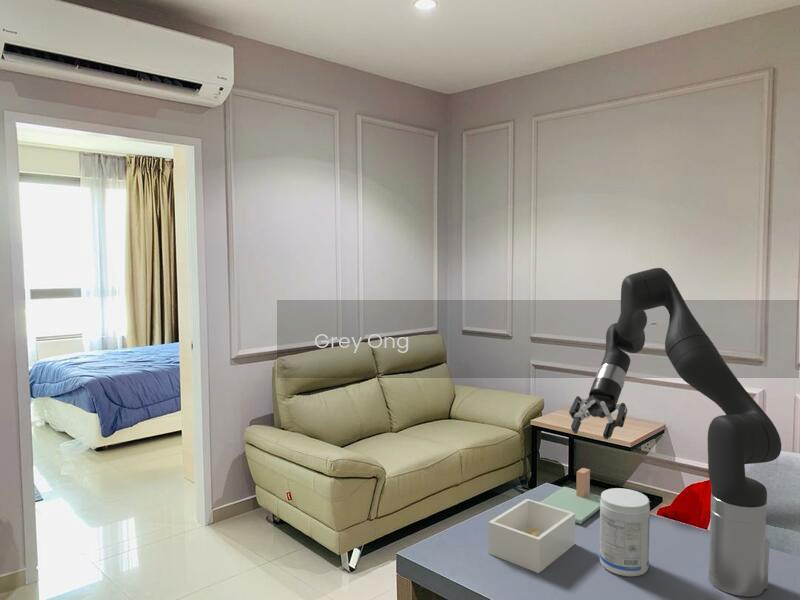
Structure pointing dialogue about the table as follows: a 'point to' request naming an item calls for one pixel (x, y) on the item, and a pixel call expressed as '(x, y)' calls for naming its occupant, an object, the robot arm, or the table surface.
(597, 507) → the lid
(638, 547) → the supplement tub
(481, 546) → the table surface
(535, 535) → the parts tub
